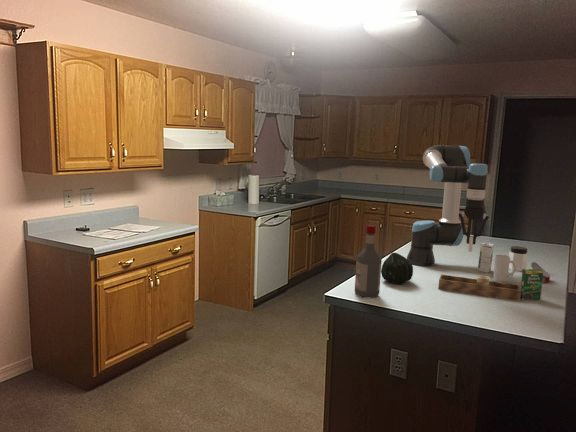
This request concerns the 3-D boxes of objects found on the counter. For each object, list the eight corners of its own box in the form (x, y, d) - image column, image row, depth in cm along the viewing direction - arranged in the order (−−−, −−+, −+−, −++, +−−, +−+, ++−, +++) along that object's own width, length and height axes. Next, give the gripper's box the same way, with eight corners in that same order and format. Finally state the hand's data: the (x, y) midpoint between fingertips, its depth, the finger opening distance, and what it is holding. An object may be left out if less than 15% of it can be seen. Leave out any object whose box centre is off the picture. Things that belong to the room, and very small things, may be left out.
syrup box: (479, 268, 258) (482, 242, 256) (491, 270, 255) (494, 243, 253) (477, 271, 253) (480, 244, 251) (489, 272, 250) (492, 245, 248)
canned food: (537, 286, 245) (547, 269, 245) (548, 290, 235) (559, 273, 235) (518, 275, 245) (528, 258, 244) (529, 279, 234) (539, 261, 234)
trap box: (438, 289, 218) (439, 279, 218) (440, 283, 227) (441, 274, 227) (519, 300, 206) (521, 290, 205) (518, 294, 214) (519, 284, 214)
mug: (491, 279, 237) (493, 256, 235) (494, 277, 243) (496, 253, 241) (513, 283, 231) (516, 259, 230) (516, 280, 237) (518, 257, 235)
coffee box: (522, 299, 208) (525, 270, 206) (518, 297, 211) (522, 268, 209) (540, 300, 208) (544, 270, 206) (537, 298, 211) (540, 268, 209)
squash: (422, 270, 228) (403, 244, 231) (413, 279, 215) (393, 251, 218) (399, 285, 235) (381, 260, 238) (389, 294, 222) (370, 267, 225)
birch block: (476, 287, 214) (477, 277, 213) (476, 284, 219) (477, 275, 218) (488, 289, 212) (489, 279, 211) (488, 286, 217) (489, 276, 216)
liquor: (361, 298, 201) (365, 228, 196) (352, 291, 210) (356, 224, 205) (381, 297, 204) (386, 227, 199) (371, 290, 212) (376, 223, 208)
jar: (519, 272, 254) (521, 250, 252) (504, 268, 261) (507, 246, 259) (528, 270, 259) (531, 248, 257) (514, 266, 266) (516, 245, 264)
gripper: (459, 198, 211) (454, 250, 215) (491, 200, 206) (485, 254, 210) (460, 196, 218) (455, 247, 222) (491, 199, 213) (485, 251, 217)
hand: (470, 250), depth 216 cm, fingers closed
